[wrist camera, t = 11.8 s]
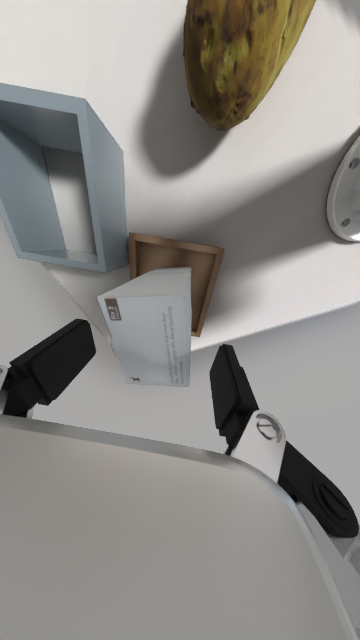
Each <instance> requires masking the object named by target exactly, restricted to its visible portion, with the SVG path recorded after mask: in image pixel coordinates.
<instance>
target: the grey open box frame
mask: <svg viewBox="0 0 360 640" xmlns="http://www.w3.org/2000/svg"><path fill="white" fill-rule="evenodd" d="M41 146H44V147H50V148H55V149H61V150H66V151H72V152H77V153H83V160H84V167H85V174H86V182H87V189H88V196H89V203H90V210H91V217H92V224H93V231H94V238H95V245H96V252H97V255H95V254H89V253H83V252H77V251H72V250H66V247H65V243H64V239H63V235H62V231H61V226H60V222H59V218H58V214H57V210H56V206H55V201H54V197H53V193H52V189H51V185H50V181H49V177H48V172H47V168H46V164H45V160H44V156H43V152H42V148H41ZM0 216H1V218H2V221H3V223H4V226H5V228H6V231H7V233H8V235H9V238H10V240H11V242H12V245H13V248H14V250H15V253H16V255H17V257H18V258H22V259H28V260H34V261H40V262H45V263H51V264H57V265H63V266H69V267H75V268H81V269H87V270H93V271H99V272H105V273H106V272H109V271H112V270H115V269H118V268H121V267H124V266H127V265H128V261H127V237H126V213H125V189H124V164H123V150H122V149H121V148H120V146H119V145H118V143H117V142H116V141H115V139H114V138H113V137H112V135H111V134H110V132H109V131H108V130H107V128H106V127H105V125H104V124H103V123H102V121H101V120H100V119H99V117H98V116H97V114H96V113H95V112H94V110H93V109H92V108H91V106H90V105H89V103H88V102H87V101H86V99H84V98H79V97H73V96H68V95H63V94H57V93H52V92H46V91H41V90H36V89H30V88H25V87H20V86H14V85H9V84H4V83H0Z"/></svg>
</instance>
